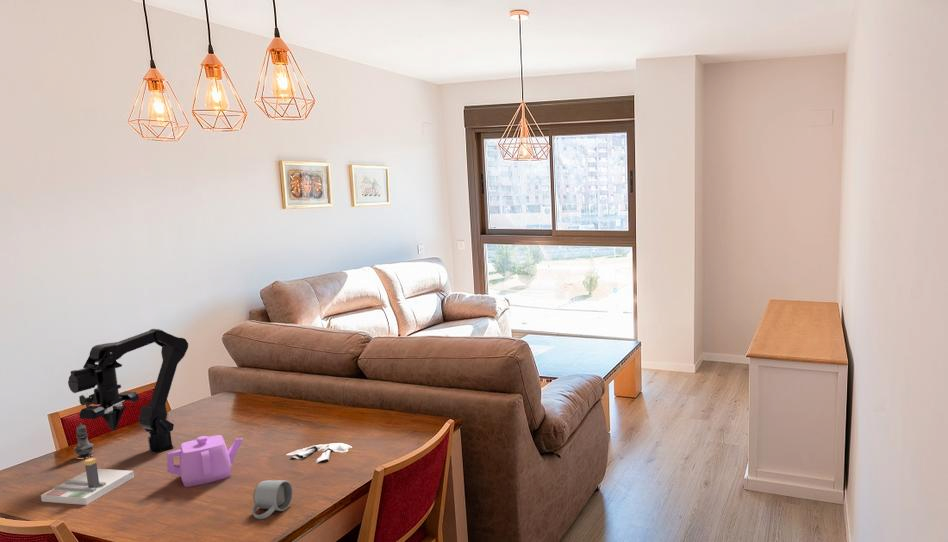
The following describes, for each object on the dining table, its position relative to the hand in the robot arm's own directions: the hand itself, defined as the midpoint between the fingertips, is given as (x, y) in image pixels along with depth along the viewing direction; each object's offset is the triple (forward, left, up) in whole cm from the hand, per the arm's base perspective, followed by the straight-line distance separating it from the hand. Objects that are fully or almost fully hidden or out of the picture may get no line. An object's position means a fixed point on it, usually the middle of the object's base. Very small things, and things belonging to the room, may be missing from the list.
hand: (113, 430), depth 210 cm
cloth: (-52, +39, -13) cm, 66 cm away
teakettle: (-21, +29, -12) cm, 38 cm away
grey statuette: (+8, -18, -12) cm, 23 cm away
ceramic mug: (-29, +66, -12) cm, 73 cm away
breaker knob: (+8, +19, -10) cm, 23 cm away
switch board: (+9, +14, -12) cm, 20 cm away
